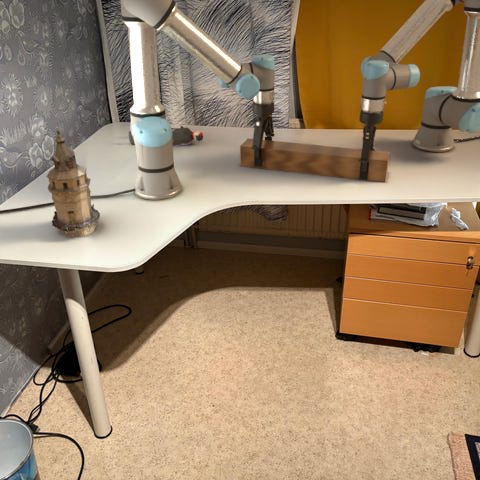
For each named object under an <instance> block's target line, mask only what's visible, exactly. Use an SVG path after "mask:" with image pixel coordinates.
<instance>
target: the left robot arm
mask: <svg viewBox="0 0 480 480" xmlns="http://www.w3.org/2000/svg"><path fill="white" fill-rule="evenodd" d="M119 3H120V11H121V21H122V23H124V25H125V26H126V27H127V34H128V46H129V48H128V49H129V58H130V59H129V60H130V71H131V81H132V82H131V83H132V95H133V104H132V105H131V107H130V108H129V113H130V125H129V128H130V129H129V130H130V131H131V133H132V136H133V139H134V142H135V143H134V146H135V154H136V161H137V175H136V179H135V184H134V188H132V189H126V190H122V191H119V192H118V191H117V192H115V193H110V194H109V193H108V194H97V195H90V197H91V199H101V198H103V199H104V198H111V197H116V196H117V197H118V196H120V195H123V194H128V193H132V192H133V193H135V195H136V196H137V197H138V198H141V199H143V200H148V201H161V200H168V199H171V198H174V197H176V196H178V195H179V194H180V193H181V192H182V183H181V180H180V177H179V176H178V173H177V171H176V169H175V161H174V160H175V159H174V158H175V157H174V146H172V129H171V128H172V126H171V123H170V122H169V120H167V118H166V117H167V116H166V107H165V106H164V105H163V104H162V103H161V93H160V73H159V60H158V57H159V56H158V43H157V42H158V41H157V40H158V39H157V31H162V32H163V33H165V34H166V35H167V36H168V37H169V38H170V39H172V40H173V41H174V42H175V43H176V44H178V45H179V47H181V48H182V49H184V50H185V51H186V52H187V53H189V54H190V55H191V56H192V57H194V58H195V59H196V60H197V61H198V62H200V63H201V64H202V65H203V66H204V67H205V68H207V69H208V70H209V71H211V72H212V73H213V74H214V75H215V76H216V77H217V82H218V86H219V87H220V88H222V89H230V88H231V90H233V91H234V92H235V93H236V94H237V95H238V96H239V97H241V98H242V99H246V100H250V99H252V101H253V102H252V113H253V114H255V115H257V119H255V120H254V126H253V127H254V129H253V136H252V139H253V144H252V149H254V166H260V167H262V149H261V146H262V141H263V140H269V141H273V137H275V134H276V133H275V129H274V119H273V114H274V113H275V96H276V95H277V93H276V92H275V82H276V81H275V79H276V63H275V57H274V56H273V55H272V54H264V53H263V54H255V55H253V56H252V60H251V61H250V62H239V61H238V59H236V58H235V57H234V56H233V55H231V54H230V53H229V52H228V51H227V50H225V49H224V47H222V46H221V45H220V44H219V43H217V41H215V40H214V39H213V38H212V37H211V36H210V35H208V34H207V33H206V31H204V30H203V29H202V28H201V27H200V26H199V25H197V24H196V23H195V22H194V21H192V20H191V18H190V17H188V16H187V15H186V14H185V13H184V12H182V11H181V10H180V9H179V8H178V3H177V2H176V1H175V0H119ZM256 145H257V146H256ZM49 206H55V205H54V201H53V202H47V203H41V204H40V203H39V204H33V205H27V206H22V207H15V208H8V209H2V210H0V214H4V213H11V212H19V211H24V210H30V209H37V208H42V207H49Z"/></svg>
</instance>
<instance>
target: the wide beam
mask: <svg viewBox="0 0 480 480" xmlns="http://www.w3.org/2000/svg"><path fill="white" fill-rule="evenodd" d="M252 144H253V138H246V140H244V141H243V142H242V143H241V144H240V146H239V147H240V148H239V152H240V154H239V155H240V156H239V157H240V162H239V165H240V167H246V168H255V169H264V170H273V171H282V172H290V173H299V174H307V175H308V174H309V175H318V176H325V177H335V178H344V179H353V180H362V181H364V180H363V179H359V175H360V165H361V162H359V160H360V159H361V153H362V148H350V147H341V146H329V145H321V144H320V145H319V144H309V143H299V142H289V141H279V140H272V141H269V140H265V139H263V141H262V146H261V149H262V167H260V166H254V149H252ZM256 146H257V145H256ZM390 158H391V152H390V151H383V150H382V151H381V150H375V151H372V150H370V156H369V168H368V177H367V180H366V181H370V182H379V183H386V181H387V176H388V173H389V167H390V166H389V165H390ZM365 159H366V158H365Z"/></svg>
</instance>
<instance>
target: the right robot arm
mask: <svg viewBox="0 0 480 480" xmlns="http://www.w3.org/2000/svg"><path fill="white" fill-rule="evenodd" d="M460 3H464V7H463V12H464V14H465V15H466V16H467V19H466V25H465V26H466V27H465V32H464V40H463V47H462V54H461V60H460V61H461V62H460V68H459V74H458V81H457V86H450V85H449V86H448V85H447V86H445V85H444V86H442V85H441V86H432V87H429V88H427V90H426V91H425V96H424V98H423V106H422V113H421V121H420V126H419V128H418V130H417V132H416V134H415V135H414V138H413V142H412V146H413V147H414V148H415V149H418V150H420V151H422V152H423V151H424V152H429V153H447V152H451V151H453V149H454V147H455V142H468V141H472V140H477V139H480V135H478V136H479V137H477V136H473V137H474V138H472V137H468V138H454V133H453V129H456V130H457V131H459V132H463V133H467V134H475V133H478V132H480V0H424V1H423V3H422V4H421V5H419V7H418V8H417V9H416V10H415V12H413V14H412V15H411V16H410V17H409V18H408V19H407V20H406V21H405V23H404V24H402V26H401V27H400V28H399V29H398V30H397V31H396V32H395V33H394V35H392V37H391V38H390V39H389V40H388V41H387V43H385V45H384V46H383V47H382V48H381V49H380V50H379V51H378V52H377V54H376V55H370V56H367V57H365V58H364V59H363V60H362V61H361V65H360V73H361V75H362V88H361V89H362V90H361V97H360V107H359V108H360V110H359V120H358V121H359V122H360V123H361V124H364V127H363V128H362V129H363V130H362V133H363V134H362V146H361V149H362V153H361V159H360V160H359V162H361V165H360V175H359V179H358V180H361V179H363V180H362V181H368V180H367V177H368V168H369V156H370V150H372V151H376V148H375V142H374V141H375V138H376V133H377V126H376V125H380V124H382V123H383V120H384V109H385V105H387V103H388V102H387V101H386V96H387V92H388V91H397V90H408V89H410V88H414V87H416V86H417V85H418V84H419V81H420V77H421V72H420V68H419V67H418V66H417V65H416V64H414V63H406V64H401V63H399V62H400V61H402V60H403V58H404V57H405V56H406V55H407V54H408V53H409V52H410V51H411V50H412V49H413V47H415V45H416V44H417V43H418V42H419V41H420V40H421V39H422V37H424V36H425V34H426V33H427V32H428V31H429V30H431V28H432V27H433V25H435V23H436V22H438V20H439V19H440V18H441V17H442V16H443V15H444V14H445V13H446V12H450V11H452V9H454V7H455V6H457V5H458V4H460ZM461 139H463V140H461ZM457 140H458V141H457ZM365 158H366V159H365Z"/></svg>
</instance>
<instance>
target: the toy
mask: <svg viewBox="0 0 480 480" xmlns="http://www.w3.org/2000/svg"><path fill="white" fill-rule="evenodd" d="M171 129H172V146H173V147H175V146H178V145H182V146H188V145H191V143H193V142H194V141H195V142H201V141H202V140H203V139H204V133H203V131H200V130H194V131H192V130H191V129H190V128H189V127H184V126H183V125H179V126H178V127H171ZM128 140H129V144H130V145H135V142H134V139H133V136H132V133H131V130H129V131H128Z"/></svg>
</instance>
